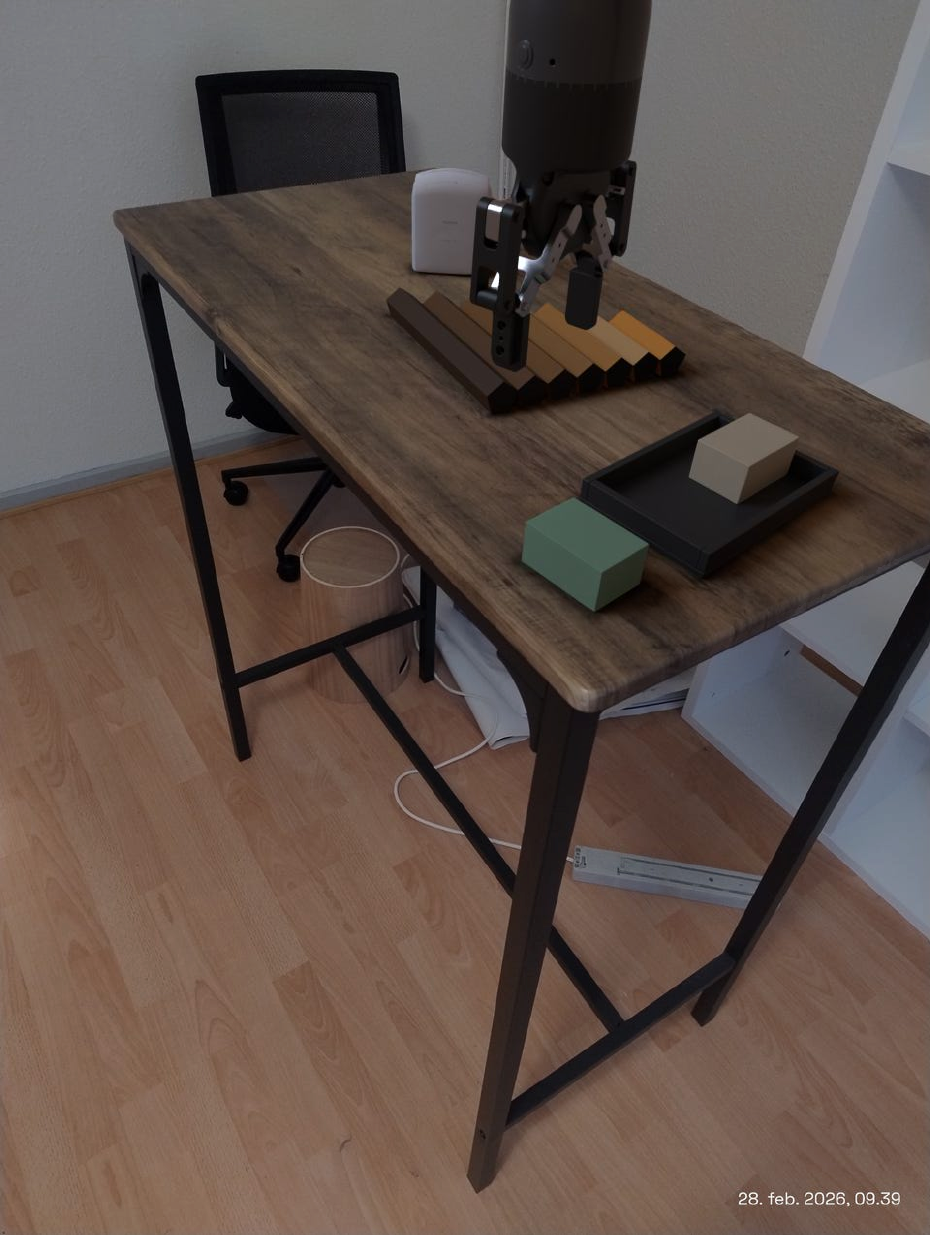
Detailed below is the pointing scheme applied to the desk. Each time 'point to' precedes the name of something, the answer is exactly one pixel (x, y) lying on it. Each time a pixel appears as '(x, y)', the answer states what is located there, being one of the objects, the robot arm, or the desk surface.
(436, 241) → the photo printer
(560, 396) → the pan flute
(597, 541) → the sage pad
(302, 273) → the desk surface
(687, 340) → the desk surface
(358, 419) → the desk surface
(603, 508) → the tray
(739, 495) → the beige pad
